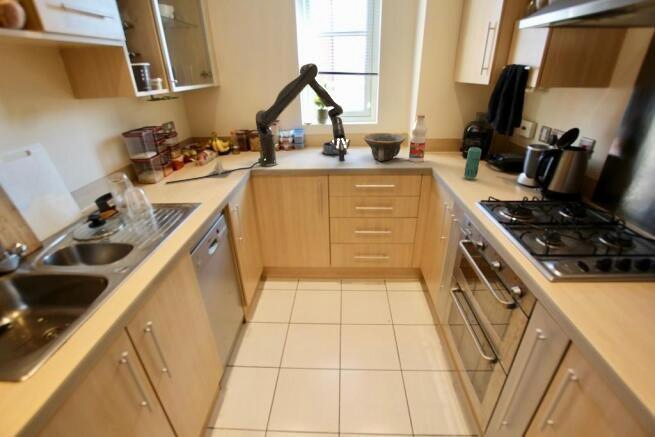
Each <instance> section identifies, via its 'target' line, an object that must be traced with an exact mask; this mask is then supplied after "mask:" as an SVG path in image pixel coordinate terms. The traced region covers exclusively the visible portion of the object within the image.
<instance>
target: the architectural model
mask: <svg viewBox="0 0 655 437" xmlns="http://www.w3.org/2000/svg"><path fill="white" fill-rule="evenodd" d="M213 170H214V171H212V172H211V173H210V174H209V175H213V174H219V175H215V176H210V177H209V178H227V176H228V175H229V174H231V173H232V172H233V171H231V172H227V173H223V174H220V173H222V172H226V171H230V170H231V169H224V166H223V161H222V159H220V160H217V161H216V164H215V166H214V167H213Z"/></svg>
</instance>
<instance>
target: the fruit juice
mask: <svg viewBox="0 0 655 437" xmlns="http://www.w3.org/2000/svg"><path fill="white" fill-rule="evenodd" d="M425 118H426V117H425V114H417V115H416V120H415V122H414V125H413V126H412V128H411V136H410V140H409V152H408V160H409V161H410V162H413V163H421V162H423V161H424V160H425V152H426V143H427V136H426V134H427V132H428V129H427V126H426V123H425Z"/></svg>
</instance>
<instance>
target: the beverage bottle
mask: <svg viewBox="0 0 655 437" xmlns="http://www.w3.org/2000/svg"><path fill="white" fill-rule="evenodd" d="M481 143H482V142H481V141H480V140H473V141H472V142H471V146H472V147H469V149H468V151H467V156H466V161H465V167H464V171H463V176H464V177H465V178H469V179H475V178H477V176H478V172H479V165H480V161H481V156H482V152H483V151H482V149H481V148H480V147H481Z"/></svg>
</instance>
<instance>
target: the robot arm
mask: <svg viewBox="0 0 655 437" xmlns="http://www.w3.org/2000/svg"><path fill="white" fill-rule="evenodd" d="M318 75H319V67H318V66H317V64H315V63H313V62H312V63H311V62H310V63H306V64H304V65H301V66H300V69H299V75H298V76H297V77H296V78H294V79H292V80H291V81H290V82H288V83H287V84H286V85H285V86H284V87H283V88H282V89H281V90H280V91H279V92H278V94H277V96H276V99H275V101H274V103H273V104H272V105H271V106H270V107H269V108H268V109H266V110H264V109H260V110H258V111H257V112H256V113H255V125H256V131H257V135H258V138H259V148H260V149H259V157H258V158H257V161H256V162H255V163H253V164H252V165H251V166H248V167H239V168H235V169H229V170H230V171H226V172H222V173H220V174H223V173H227V172H231V171H232V172H234V171H240V170H248V169H252V168H253V167H254V166H256V165H257V164H260V165H261V166H263V167H272V166H273V167H274V166H276V165H277V164H278V161H277V153H276V152H277V151H276V141H275V133H274V131H273V130H272V126H273V125H274V124H275V122H276V121H277V120H278V119H279V117H280V115H282V113H283V112H284V111H285V110H286V109H287V108H288V107H289V106H290V105H291V104H292V103H293V102H294V101H295V100H296V98H298V96H299V95H300V94H301V93H302V91H304V89H305V88H306V87H307V86H309V87H310V88H311V89H312V90H313V91H314V93H315V94H316V95H317V97H318V98H319V99H320V101H321V102H322V104H323V106H325V108H329V109H328V110H327V116H328V117H329V119H330V122H331V126H332V133H333V134H332V135H333V140H329V142H330V144H331V146H332V147H333V149H334V150H337V154H336V155H338V156H339V154H340V153H339V149H338V147H339V146H340V144H342V145H343V148H344V156H345V155H347V153H348V151H347V150H348V149H349V148H350V143H351V139H347V138H346V134H345V127H344V125H343V119H342V118H341V117H340V116H341V115H343V113H344V109H343V107H342V105H340V104H339V103H338V102H337V101H336V100H335V99H334V98H333V97H332V95H331V93H329V91H328V89H326V88H325V87H324V86H323V85H322V84H321V83H320V82H319V81H318V80H317V76H318ZM330 107H331V108H330ZM334 143H335V144H337V147H336V146H335V145H334ZM345 143H346V145H345ZM232 172H231V173H232ZM215 175H219V174H213V175H210V174H208V175H203V176H198V177H191V178H186V179H177V180H172V181H165V184H166V185H167V184H173V183H180V182H187V181H192V180H198V179H205V178H211V177H210V176H215Z"/></svg>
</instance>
